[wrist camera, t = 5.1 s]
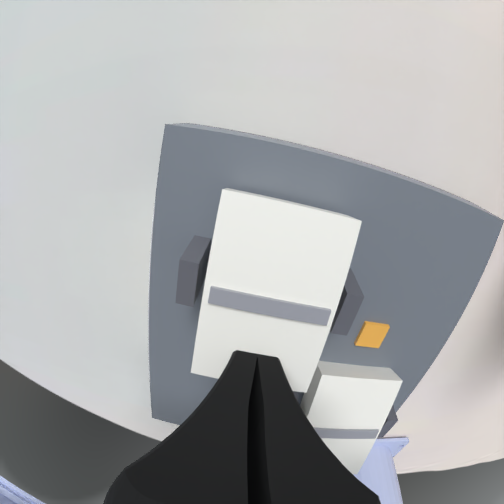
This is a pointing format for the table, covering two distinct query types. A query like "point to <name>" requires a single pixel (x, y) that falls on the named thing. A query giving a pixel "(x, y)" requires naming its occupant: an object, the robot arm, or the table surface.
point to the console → (360, 271)
